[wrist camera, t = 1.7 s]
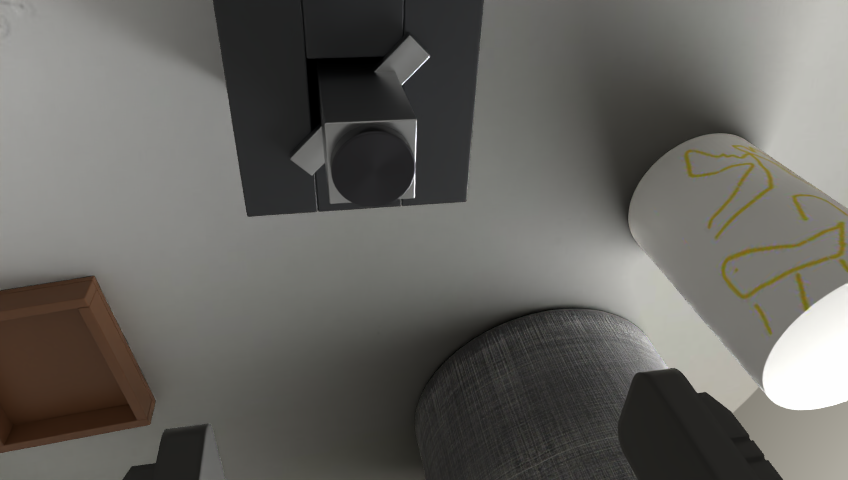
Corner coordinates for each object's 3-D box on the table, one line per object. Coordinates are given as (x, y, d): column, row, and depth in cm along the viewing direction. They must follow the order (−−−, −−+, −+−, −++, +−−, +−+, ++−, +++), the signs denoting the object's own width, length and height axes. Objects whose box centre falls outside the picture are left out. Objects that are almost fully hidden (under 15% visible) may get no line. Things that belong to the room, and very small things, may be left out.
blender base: (258, 100, 37) (246, 217, 26) (235, -78, 32) (208, -28, 21) (414, 94, 39) (466, 202, 28) (419, -76, 34) (486, -28, 22)
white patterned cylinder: (771, 116, 46) (981, 240, 32) (752, 234, 52) (919, 379, 39) (628, 156, 45) (777, 299, 31) (628, 270, 52) (751, 429, 38)
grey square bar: (290, 97, 32) (293, 249, 21) (279, -16, 29) (274, 89, 17) (394, 93, 33) (453, 237, 22) (395, -16, 30) (465, 83, 18)
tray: (-82, 303, 41) (-101, 327, 39) (94, 275, 42) (84, 297, 40) (10, 428, 49) (-2, 453, 47) (156, 401, 50) (150, 425, 48)
